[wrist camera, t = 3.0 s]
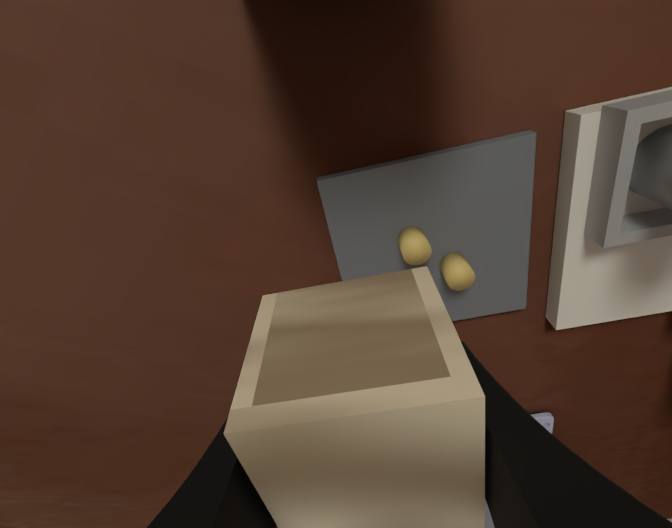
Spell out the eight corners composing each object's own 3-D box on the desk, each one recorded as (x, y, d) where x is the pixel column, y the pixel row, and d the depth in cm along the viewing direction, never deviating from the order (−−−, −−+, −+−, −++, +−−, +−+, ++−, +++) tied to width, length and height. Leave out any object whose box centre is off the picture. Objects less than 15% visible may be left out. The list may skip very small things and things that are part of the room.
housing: (437, 382, 14) (484, 528, 10) (303, 402, 15) (291, 549, 10) (426, 266, 11) (485, 396, 7) (262, 295, 12) (223, 434, 8)
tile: (521, 302, 21) (538, 325, 20) (356, 331, 22) (358, 355, 21) (529, 130, 16) (554, 139, 15) (317, 177, 17) (315, 192, 16)
